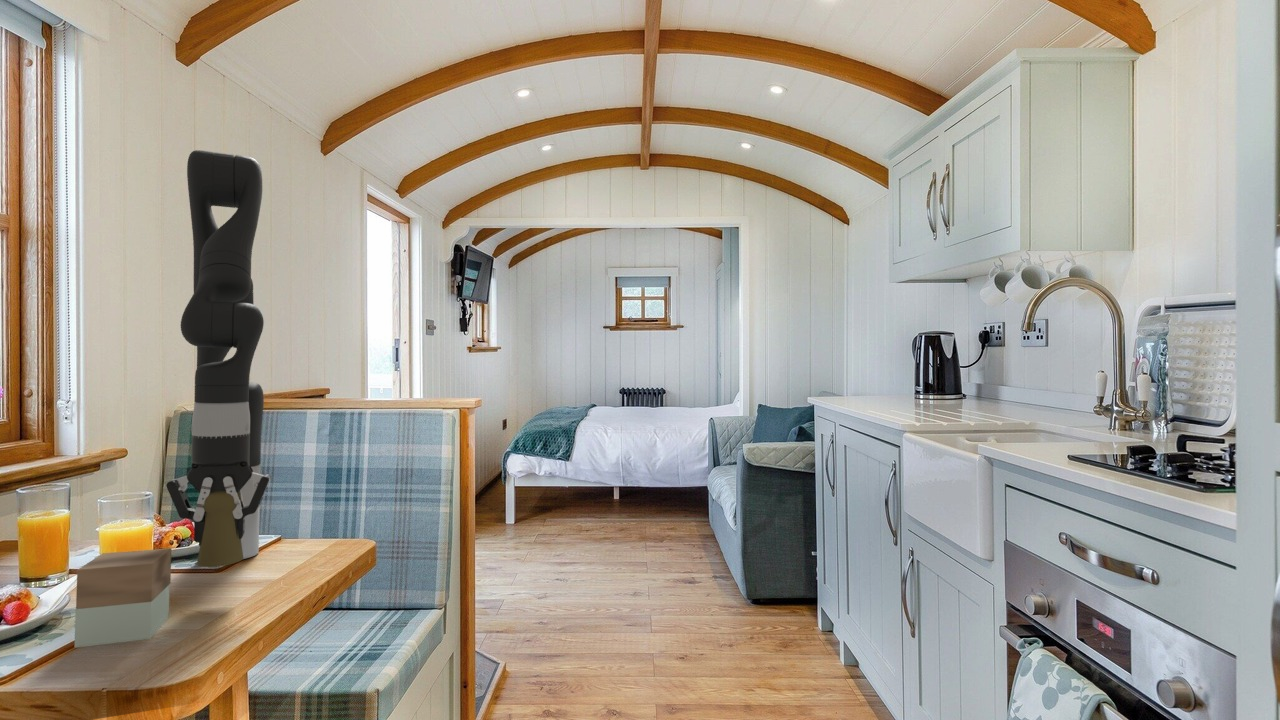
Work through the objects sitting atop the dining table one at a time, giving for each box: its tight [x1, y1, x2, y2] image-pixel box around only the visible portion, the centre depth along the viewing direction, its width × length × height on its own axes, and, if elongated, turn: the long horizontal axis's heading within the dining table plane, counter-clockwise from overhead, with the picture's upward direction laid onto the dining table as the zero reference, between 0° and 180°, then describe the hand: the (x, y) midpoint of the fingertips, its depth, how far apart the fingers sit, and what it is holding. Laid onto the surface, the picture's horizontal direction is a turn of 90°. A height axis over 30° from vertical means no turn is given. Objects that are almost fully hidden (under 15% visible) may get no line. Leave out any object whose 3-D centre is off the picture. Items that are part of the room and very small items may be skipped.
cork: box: [196, 491, 244, 568], centre depth 99 cm, size 6×6×11 cm
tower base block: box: [73, 583, 171, 648], centre depth 88 cm, size 8×8×5 cm
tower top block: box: [75, 548, 172, 610], centre depth 88 cm, size 8×8×5 cm
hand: (219, 542), depth 99 cm, fingers closed on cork, 3 cm apart
